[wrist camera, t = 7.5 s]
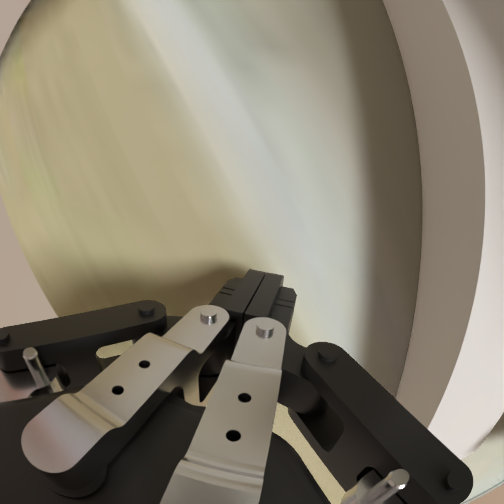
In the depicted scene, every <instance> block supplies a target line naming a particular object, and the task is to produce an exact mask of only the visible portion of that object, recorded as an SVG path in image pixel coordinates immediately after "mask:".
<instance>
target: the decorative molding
mask: <svg viewBox="0 0 504 504" xmlns="http://www.w3.org/2000/svg"><path fill="white" fill-rule="evenodd" d="M382 1H383V3H384V6H385V8H386V11H387V14H388V16H389V19H390V22H391V25H392V28H393V31H394V34H395V37H396V40H397V43H398V46H399V50H400V53H401V57H402V61H403V64H404V68H405V72H406V76H407V81H408V85H409V90H410V94H411V99H412V104H413V110H414V115H415V122H416V128H417V136H418V144H419V153H420V165H421V179H422V248H421V262H420V274H419V283H418V292H417V300H416V307H415V314H414V320H413V326H412V332H411V337H410V343H409V347H408V352H407V357H406V361H405V365H404V369H403V373H402V377H401V381H400V384H399V388H398V391H397V395H396V398H395V399H396V400H397V401H398V402H399V403H400V404H401V405H402V406H403V407H405V408H406V409H407V410H408V411H409V412H410V413H411V414H412V415H413V416H414V417H415V418H416V419H417V420H418V421H419V422H420V423H422V424H423V425H424V426H425V427H426V428H427V429H428V430H429V431H430V432H431V433H432V434H433V435H434V436H435V437H436V438H438V439H439V440H440V441H441V442H442V443H443V444H444V445H445V446H446V447H447V448H448V449H449V450H450V451H451V452H453V453H454V454H455V455H456V456H457V457H458V458H459V459H460V460H462V459H463V458H465V457H467V456H468V455H470V454H472V453H473V452H475V451H476V450H477V449H478V448H479V446H480V445H481V444H482V442H483V441H484V440H485V438H486V437H487V436H488V434H489V433H490V432H491V430H492V429H493V427H494V426H495V425H496V423H497V422H498V420H499V419H500V417H501V416H502V414H503V412H504V0H382Z"/></svg>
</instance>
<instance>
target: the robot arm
mask: <svg viewBox="0 0 504 504" xmlns="http://www.w3.org/2000/svg"><path fill="white" fill-rule="evenodd" d="M283 279H284V276H283V275H278V274H272V273H267V274H266V272H262V271H256V270H251V269H249V271H248V272H247V274H246V275H245V276H244V278H243V279H241V278H234V279H231V280H229V281H227V283H226V284H225V285H224V286H223V288H222V289H221V290H220V291H219V293H218V294H217V295H216V296H215V297H214V299H213V300H212V301H211V302H210V303H209V305H201V306H197V307H195V308H193V309H192V310H190V311H189V312H188V313H187V314H186V315H185V316H184V317H177V316H167V315H166V308H165V306H164V305H163V304H161V303H159V302H156V301H151V300H146V301H139V302H134V303H130V304H125V305H120V306H115V307H110V308H105V309H100V310H95V311H90V312H85V313H80V314H75V315H70V316H64V317H59V318H54V319H48V320H43V321H37V322H32V323H26V324H20V325H14V326H9V327H3V328H0V504H331V503H330V501H329V500H328V499H327V497H326V496H325V494H324V493H323V491H322V490H321V488H320V487H319V485H318V484H317V482H316V481H315V479H314V478H313V476H312V475H311V473H310V471H309V470H308V468H307V467H306V465H305V464H304V462H303V461H302V459H301V457H300V456H299V454H298V453H297V452H296V451H295V449H294V448H293V447H292V446H291V445H290V444H289V443H288V442H287V441H285V440H284V439H283V438H281V437H280V436H278V435H277V434H275V433H273V432H272V429H273V424H274V418H275V412H276V406H277V402H278V403H280V404H282V405H284V406H286V407H288V413H289V415H290V417H291V419H292V420H293V422H294V423H295V424H296V426H297V427H298V429H299V430H300V432H301V433H302V434H303V436H304V437H305V439H306V440H307V441H308V443H309V444H310V445H311V447H312V448H313V450H314V451H315V452H316V454H317V455H318V456H319V458H320V459H321V460H322V462H323V463H324V464H325V466H326V467H327V468H328V470H329V471H330V472H331V474H332V475H333V476H334V478H335V479H336V480H337V481H338V483H339V484H340V485H341V486H342V488H343V489H344V490H345V491H346V493H345V494H344V496H343V498H342V500H341V504H460V503H461V502H463V501H464V500H465V499H466V498H467V497H468V496H469V494H470V493H471V490H472V487H473V476H472V473H471V471H470V469H469V468H468V467H467V465H466V464H464V463H463V462H462V461H461V460H460V459H459V458H458V457H457V456H456V455H455V454H454V453H453V452H451V451H450V450H449V449H448V448H447V447H446V446H445V445H444V444H443V443H442V442H441V441H440V440H439V439H438V438H436V437H435V436H434V435H433V434H432V433H431V432H430V431H429V430H428V429H427V428H426V427H425V426H424V425H423V424H422V423H420V422H419V421H418V420H417V419H416V418H415V417H414V416H413V415H412V414H411V413H410V412H409V411H408V410H407V409H406V408H405V407H403V406H402V405H401V404H400V403H399V402H398V401H397V400H396V399H395V398H394V397H393V396H392V395H391V394H390V393H389V392H388V391H387V390H386V389H384V388H383V387H382V386H381V385H380V384H379V383H378V382H377V381H376V380H375V379H374V378H373V377H372V376H371V375H370V374H369V373H368V372H367V371H366V370H364V369H363V368H362V367H361V366H360V365H359V364H358V363H357V362H356V361H355V360H354V359H353V358H352V357H351V356H350V355H349V354H348V353H347V352H346V351H345V350H343V349H342V348H341V347H339V346H337V345H335V344H332V343H328V342H317V343H313V344H311V345H309V346H308V347H307V348H306V347H303V346H301V345H299V344H297V343H296V342H295V341H293V340H292V339H291V337H290V336H289V330H290V326H291V321H292V316H293V311H294V306H295V301H296V296H297V295H296V293H295V291H294V289H292V288H287V287H282V286H283ZM128 340H132V341H133V345H132V346H131V347H130V348H129V349H128V350H127V351H125V352H124V353H123V354H122V355H117V356H113V357H109V358H99V357H98V356H97V355H96V352H97V350H98V349H99V348H100V347H103V346H107V345H111V344H116V343H120V342H124V341H128Z"/></svg>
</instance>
